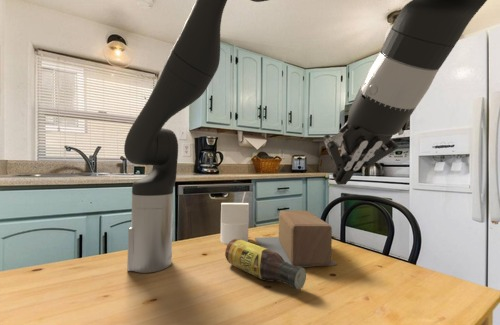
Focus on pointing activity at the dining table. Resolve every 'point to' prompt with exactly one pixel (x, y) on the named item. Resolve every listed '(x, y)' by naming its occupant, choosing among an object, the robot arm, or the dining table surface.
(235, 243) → the sauce bottle
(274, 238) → the mat
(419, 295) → the dining table surface
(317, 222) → the block
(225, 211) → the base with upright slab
